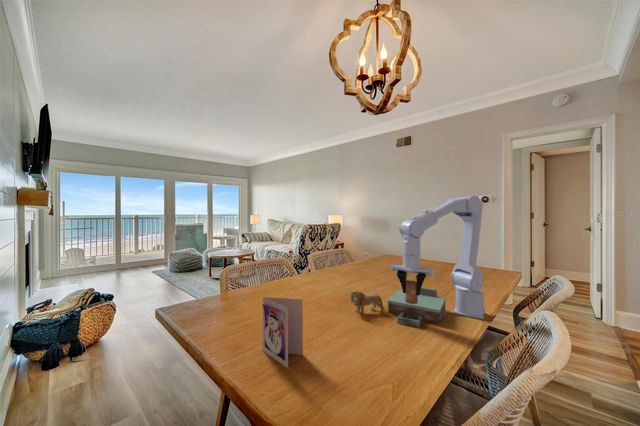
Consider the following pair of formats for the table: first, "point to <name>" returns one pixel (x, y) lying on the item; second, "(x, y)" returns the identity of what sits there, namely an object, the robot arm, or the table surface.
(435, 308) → the lid
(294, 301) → the greeting card
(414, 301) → the key peg
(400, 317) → the dark grey box base
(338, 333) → the table surface
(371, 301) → the lion figurine
